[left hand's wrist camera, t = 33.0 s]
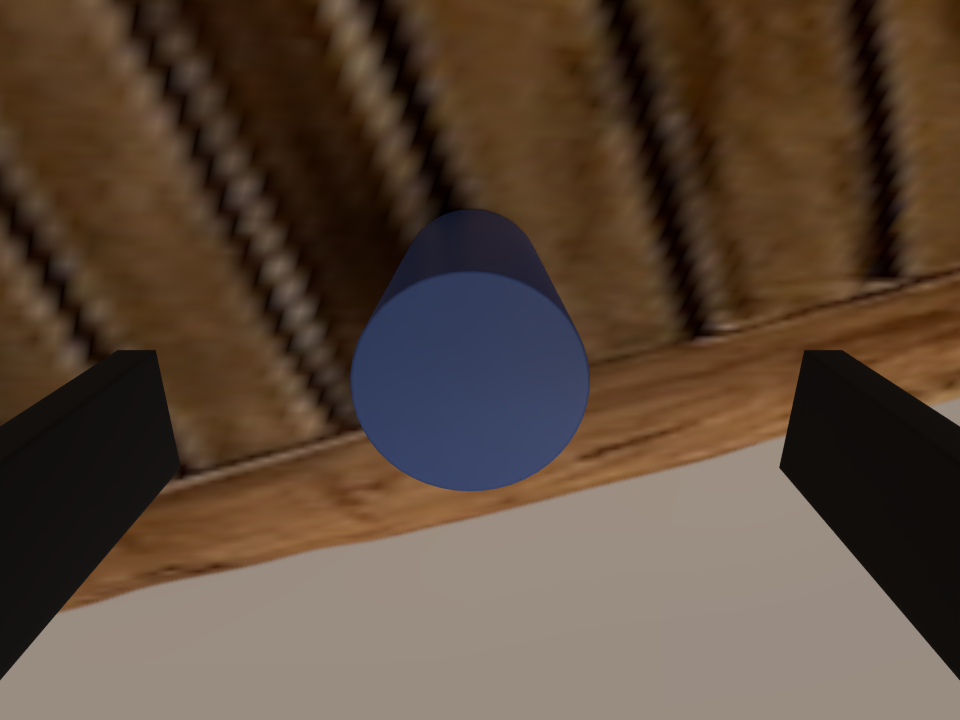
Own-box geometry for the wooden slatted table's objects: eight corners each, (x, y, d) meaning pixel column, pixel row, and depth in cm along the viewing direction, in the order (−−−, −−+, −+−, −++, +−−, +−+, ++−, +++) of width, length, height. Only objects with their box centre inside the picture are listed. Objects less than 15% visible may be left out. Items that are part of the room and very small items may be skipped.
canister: (544, 209, 25) (600, 272, 14) (537, 345, 27) (581, 493, 16) (400, 207, 25) (341, 269, 14) (404, 343, 27) (356, 491, 16)
